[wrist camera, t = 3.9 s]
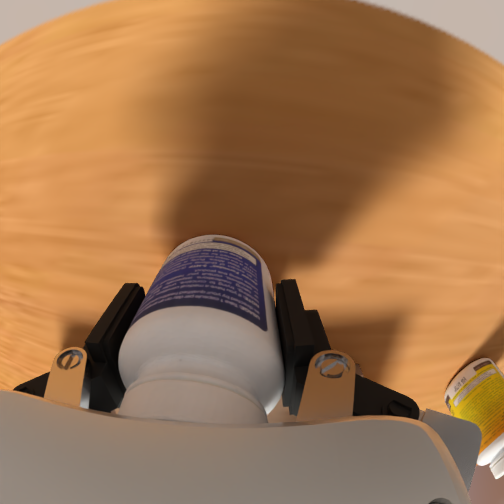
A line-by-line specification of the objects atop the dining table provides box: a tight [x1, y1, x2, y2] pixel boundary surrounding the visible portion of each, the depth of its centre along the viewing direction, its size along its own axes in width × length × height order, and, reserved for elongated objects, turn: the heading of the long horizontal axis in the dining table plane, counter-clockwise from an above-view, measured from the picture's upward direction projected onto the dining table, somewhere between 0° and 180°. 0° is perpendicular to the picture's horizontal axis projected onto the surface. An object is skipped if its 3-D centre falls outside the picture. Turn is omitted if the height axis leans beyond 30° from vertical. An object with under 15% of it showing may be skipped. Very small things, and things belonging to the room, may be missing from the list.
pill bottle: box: [118, 235, 285, 424], centre depth 10 cm, size 5×5×9 cm
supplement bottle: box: [444, 358, 504, 479], centre depth 13 cm, size 6×6×10 cm
